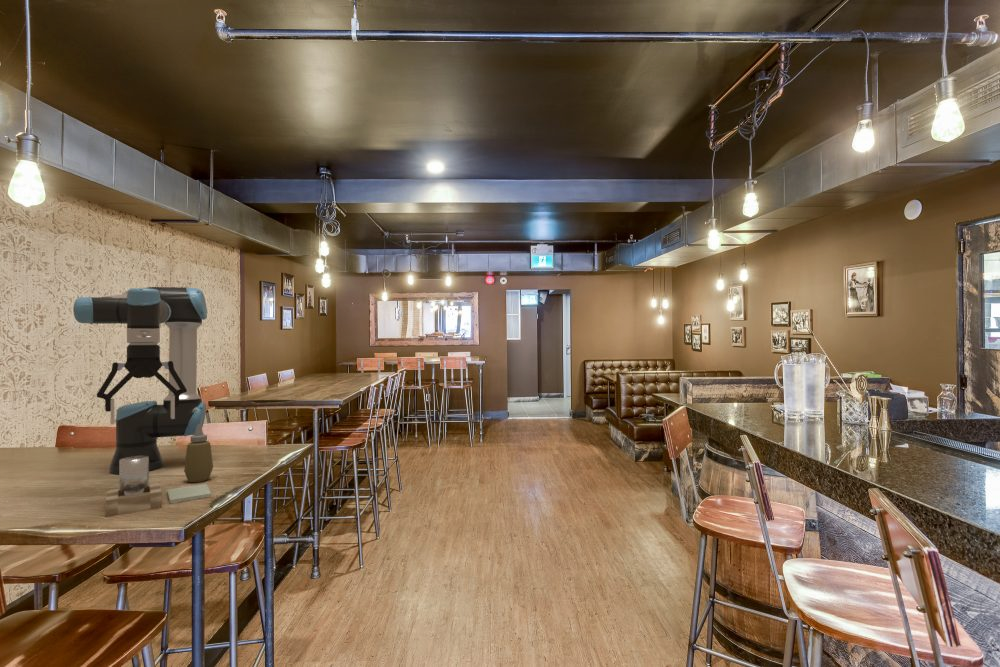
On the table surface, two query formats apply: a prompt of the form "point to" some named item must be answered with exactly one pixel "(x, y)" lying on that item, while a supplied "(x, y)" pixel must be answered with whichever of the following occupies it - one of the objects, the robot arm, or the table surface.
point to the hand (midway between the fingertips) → (143, 421)
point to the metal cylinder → (133, 474)
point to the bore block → (133, 500)
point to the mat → (188, 493)
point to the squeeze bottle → (198, 457)
